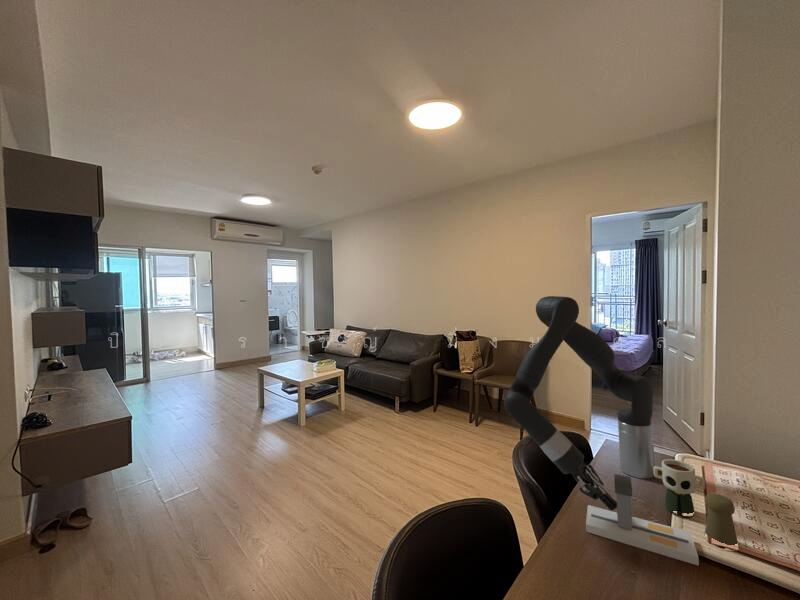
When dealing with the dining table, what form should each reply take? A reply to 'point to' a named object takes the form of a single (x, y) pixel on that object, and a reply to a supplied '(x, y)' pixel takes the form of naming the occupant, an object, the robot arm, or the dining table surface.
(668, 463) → the character mug
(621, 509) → the fader knob
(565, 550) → the dining table surface
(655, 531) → the fader console
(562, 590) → the dining table surface
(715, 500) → the cork
